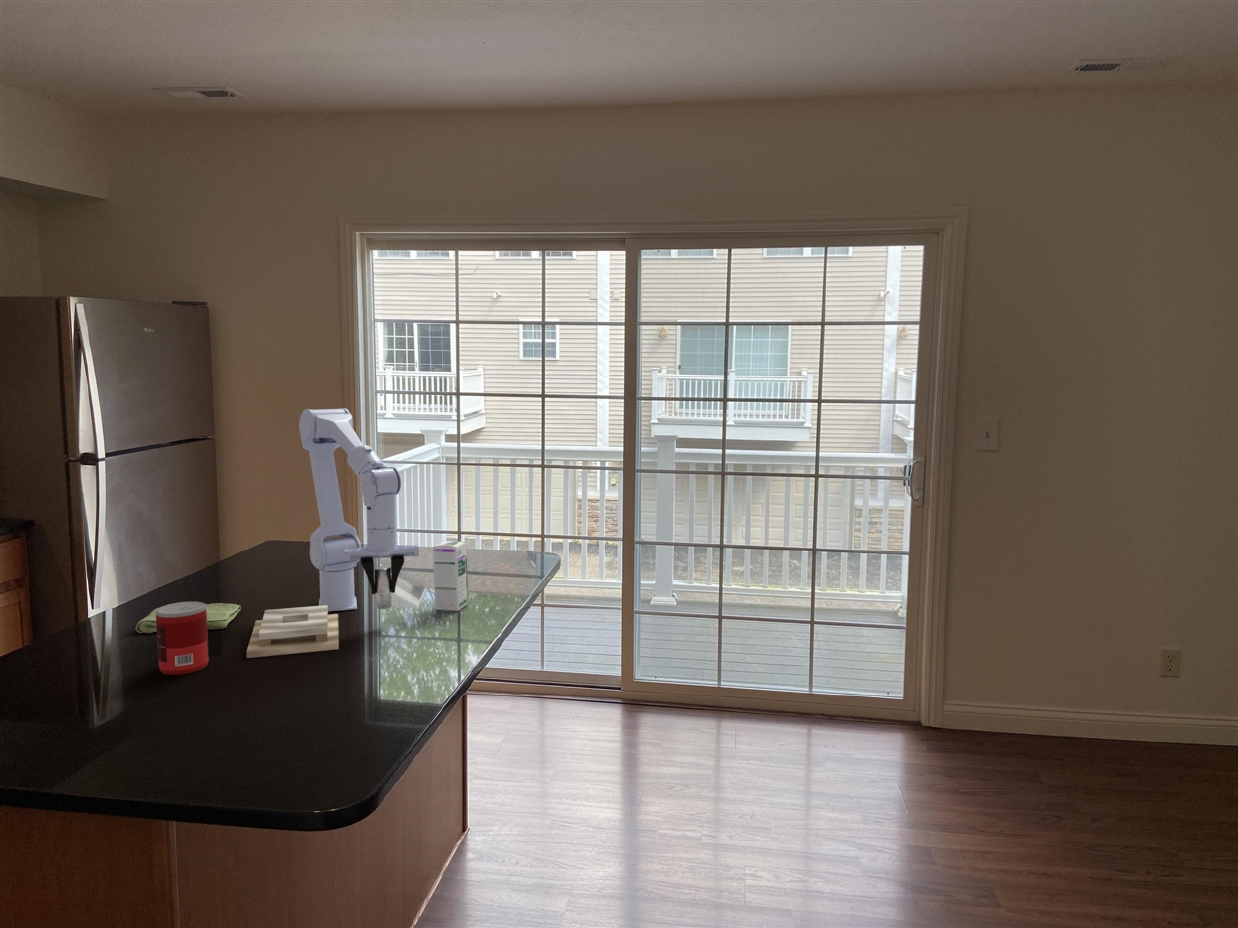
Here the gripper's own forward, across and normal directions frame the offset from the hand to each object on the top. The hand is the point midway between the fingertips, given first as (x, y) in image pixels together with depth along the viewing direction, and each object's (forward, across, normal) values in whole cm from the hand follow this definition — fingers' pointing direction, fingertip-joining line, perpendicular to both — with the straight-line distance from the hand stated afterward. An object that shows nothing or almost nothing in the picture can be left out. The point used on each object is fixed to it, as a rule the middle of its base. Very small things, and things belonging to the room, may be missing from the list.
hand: (383, 592), depth 173 cm
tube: (+3, 0, 0) cm, 3 cm away
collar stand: (+7, -17, -2) cm, 18 cm away
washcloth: (+8, -38, +15) cm, 42 cm away
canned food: (+7, -35, -14) cm, 38 cm away
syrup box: (+7, +15, +10) cm, 20 cm away
